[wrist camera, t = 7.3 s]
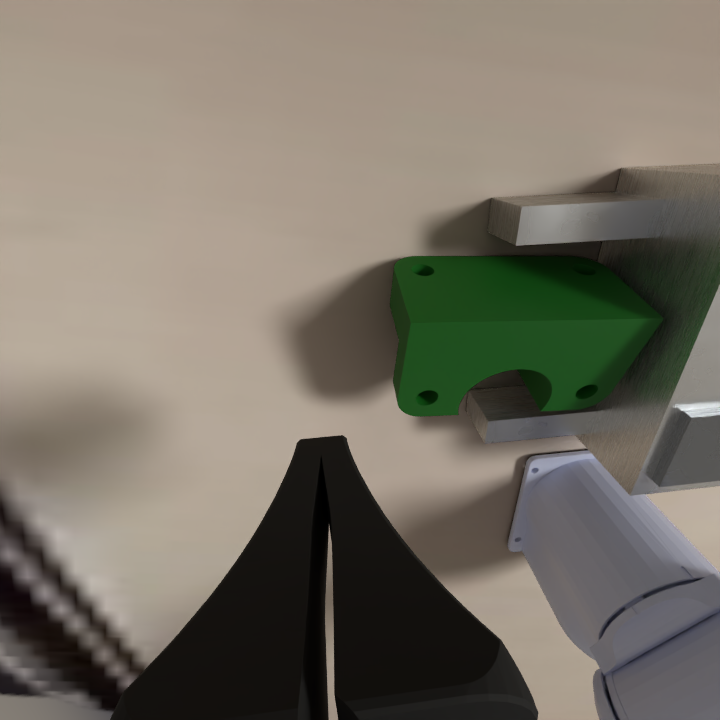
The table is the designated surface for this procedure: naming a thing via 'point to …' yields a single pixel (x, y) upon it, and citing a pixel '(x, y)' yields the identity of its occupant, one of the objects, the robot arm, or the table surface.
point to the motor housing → (664, 348)
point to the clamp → (513, 329)
